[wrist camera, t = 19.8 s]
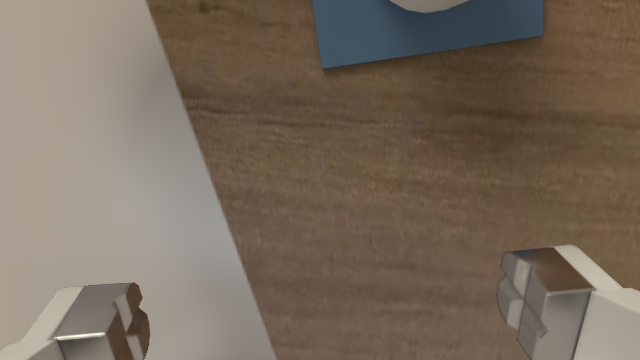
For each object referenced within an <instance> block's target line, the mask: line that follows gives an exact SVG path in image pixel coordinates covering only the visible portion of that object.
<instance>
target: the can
mask: <svg viewBox="0 0 640 360" xmlns="http://www.w3.org/2000/svg"><path fill="white" fill-rule="evenodd" d="M390 1H391V2H393V3H395V4H397V5H399V6H400V7H402V8H404V9H406V10H410V11H416V12H422V13H430V12H436V11H442V10H446V9H449V8H451V7H454V6H456V5H459V4H461V3H464V2H466V1H469V0H390Z"/></svg>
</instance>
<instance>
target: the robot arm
mask: <svg viewBox="0 0 640 360" xmlns="http://www.w3.org/2000/svg"><path fill="white" fill-rule="evenodd" d="M500 267H501V269H502V270H503V272H504V273H505V274H506V275H505V276H504V277H503V278H502V279H501V280H500V281H499V282H498V285H497V294H496V296H497V303H498V308H499V311H500V313H501V316H502V317H503V319H504V321H505V322H506V324H507V325H508V326H510V327H512V328H514V329H515V330H517V331H518V336H517V341H518V342H519V344H520V345H521V347H522V348H523V350H524V351H525V353H526V354H527V356H528V357H529V359H530V360H640V291H637V290H635V289H632V288H622V287H621V286H620V285H619V284H618V283H617V282H616V281H615V280H613V279H612V278H611V277H610V276H609V275H608V274H607V273H606V272H604V271H603V270H602V269H601V268H600V267H599V266H598V265H597V264H596V263H594V262H593V261H592V260H591V259H590V258H589V257H588V256H587V255H586V254H584V253H583V252H582V251H581V250H580V249H579V248H578V247H576V246H573V245H562V246H553V247H548V248H540V249H529V250H518V251H508V252H505V253H504V255H503V256H502V260H501V266H500ZM141 300H142V295H141V292H140V289H139V286H138V285H137V284H135V283H119V284H103V285H88V286H75V287H64V288H62V289H60V290H58V291H57V293H56V294H55V295H54V297H53V298H52V299H51V301H50V302H49V304H48V305H47V307H46V308H45V309H44V310H43V312H42V313H41V315H40V316H39V317H38V319H37V320H36V321H35V323H34V324H33V326H32V327H31V328H30V330H29V331H28V333H27V334H26V336H25V337H24V338H23V340H22V341H21V342H20V343H13V344H11V345H9V346H7V347H6V348H4V349H2V350H1V351H0V360H144V359H145V356H146V353H147V350H148V346H149V338H150V330H149V321H148V317H147V314H146V313H145V312H143V311H142V310H141V309H140V308H138V307H139V305H140V302H141Z"/></svg>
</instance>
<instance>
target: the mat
mask: <svg viewBox="0 0 640 360" xmlns="http://www.w3.org/2000/svg"><path fill="white" fill-rule="evenodd" d="M312 3H313V10H314V17H315V24H316V31H317V38H318V45H319V52H320V60H321V67H322V69H327V68H334V67H340V66H347V65H354V64H360V63H367V62H373V61H380V60H387V59H393V58H400V57H407V56H413V55H420V54H427V53H433V52H440V51H446V50H453V49H460V48H466V47H473V46H480V45H486V44H493V43H500V42H506V41H513V40H519V39H526V38H533V37H539V36H544V1H543V0H469V1H466V2H464V3H461V4H459V5H456V6H454V7H451V8H449V9H446V10H442V11H436V12H430V13H422V12H416V11H410V10H406V9H404V8H402V7H400V6H399V5H397V4H395V3H393V2H391V1H390V0H312Z"/></svg>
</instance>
